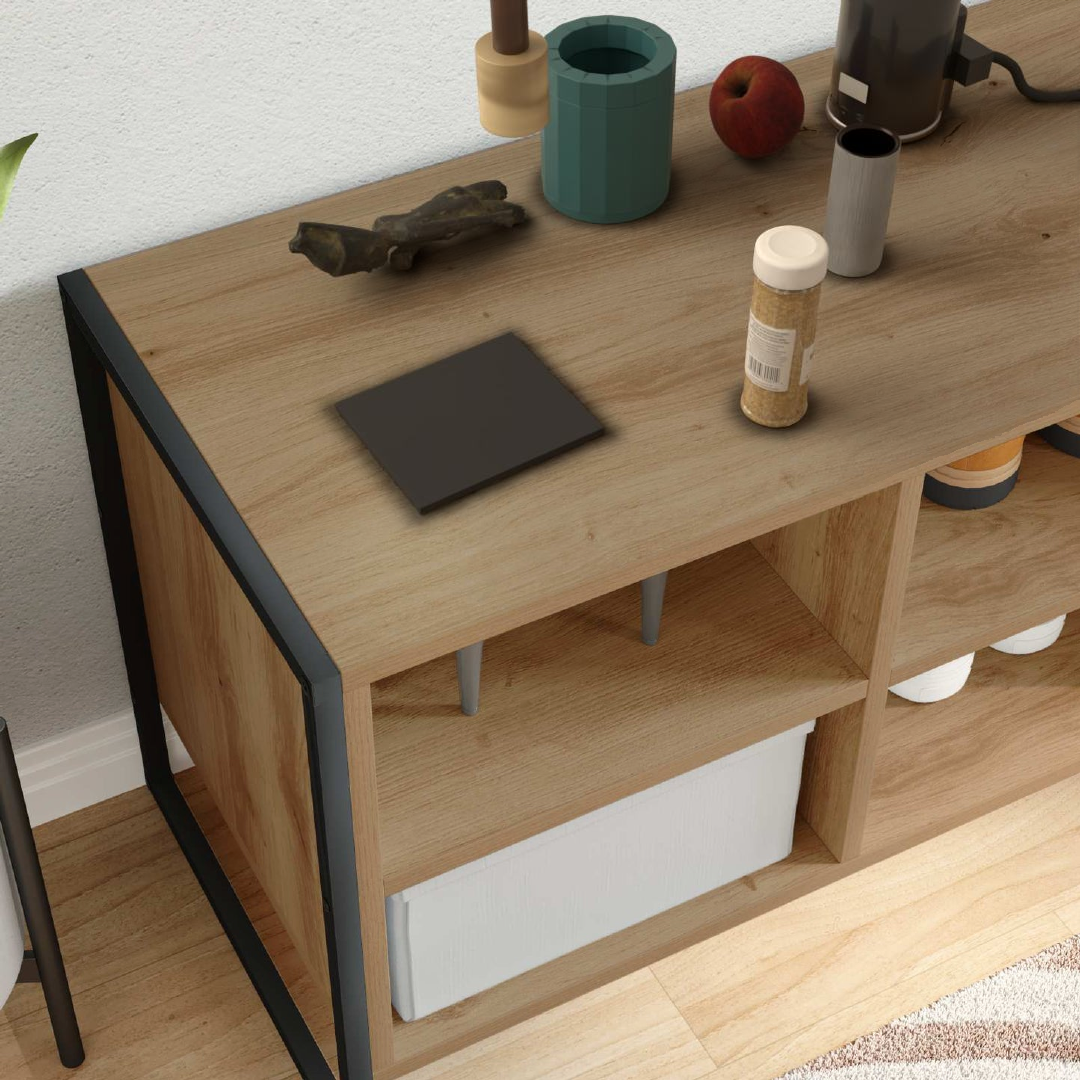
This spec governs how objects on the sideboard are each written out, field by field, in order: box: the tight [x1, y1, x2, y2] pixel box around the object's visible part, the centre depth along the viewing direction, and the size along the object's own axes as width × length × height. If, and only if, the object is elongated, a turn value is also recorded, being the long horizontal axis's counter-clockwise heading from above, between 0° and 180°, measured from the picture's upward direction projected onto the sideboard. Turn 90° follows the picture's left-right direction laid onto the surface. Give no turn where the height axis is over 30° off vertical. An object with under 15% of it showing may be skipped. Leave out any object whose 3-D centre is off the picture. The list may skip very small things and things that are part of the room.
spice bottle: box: [740, 224, 829, 428], centre depth 102 cm, size 5×5×13 cm
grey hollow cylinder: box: [821, 123, 902, 278], centre depth 114 cm, size 4×4×10 cm
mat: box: [334, 331, 605, 516], centre depth 106 cm, size 14×12×1 cm
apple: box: [708, 54, 806, 159], centre depth 125 cm, size 7×8×8 cm
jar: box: [540, 14, 678, 225], centre depth 120 cm, size 10×10×12 cm
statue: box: [287, 179, 527, 278], centre depth 117 cm, size 6×6×20 cm
